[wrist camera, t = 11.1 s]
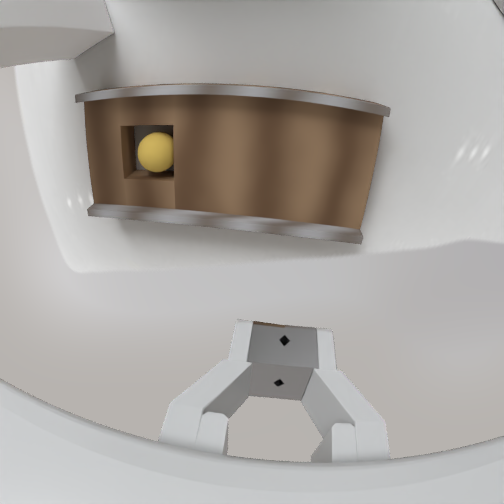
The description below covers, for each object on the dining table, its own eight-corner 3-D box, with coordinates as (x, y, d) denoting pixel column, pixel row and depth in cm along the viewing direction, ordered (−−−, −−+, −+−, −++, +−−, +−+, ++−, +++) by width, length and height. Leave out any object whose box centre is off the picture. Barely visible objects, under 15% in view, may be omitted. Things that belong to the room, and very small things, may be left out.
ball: (172, 135, 25) (130, 137, 25) (173, 177, 27) (133, 178, 27) (181, 127, 29) (143, 129, 28) (181, 165, 31) (145, 165, 31)
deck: (375, 102, 25) (390, 107, 21) (352, 222, 32) (361, 244, 28) (99, 89, 26) (75, 94, 23) (107, 199, 33) (88, 216, 30)
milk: (102, -8, 20) (-70, -30, 1) (115, 33, 23) (-73, 37, 4) (60, 20, 21) (-106, 35, 3) (72, 60, 24) (-103, 100, 6)
